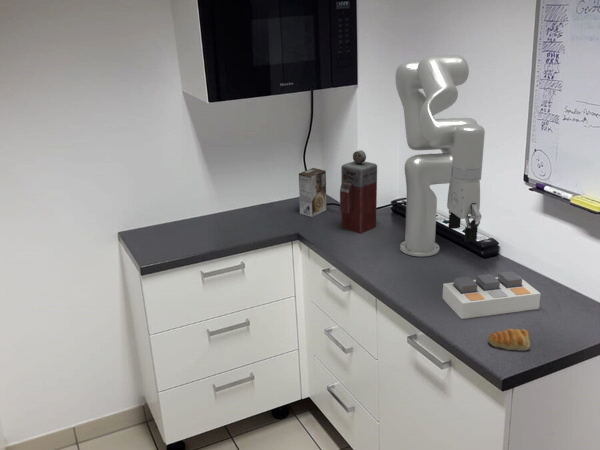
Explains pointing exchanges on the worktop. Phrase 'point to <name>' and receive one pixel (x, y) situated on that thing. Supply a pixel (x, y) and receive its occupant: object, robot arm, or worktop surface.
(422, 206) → the robot arm
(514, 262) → the worktop surface
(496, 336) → the pastry
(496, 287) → the button
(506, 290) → the switch box
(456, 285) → the button
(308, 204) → the coffee box
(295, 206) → the worktop surface
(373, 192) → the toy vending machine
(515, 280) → the button
